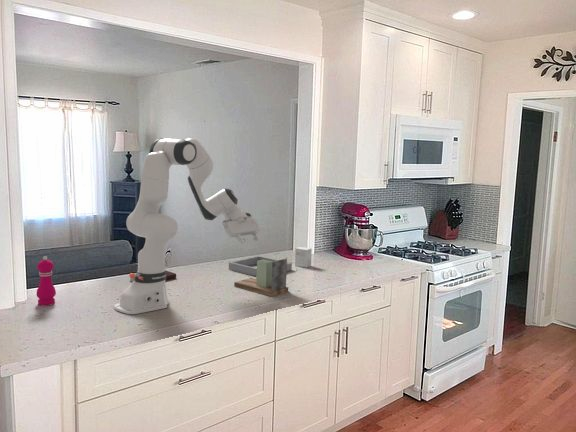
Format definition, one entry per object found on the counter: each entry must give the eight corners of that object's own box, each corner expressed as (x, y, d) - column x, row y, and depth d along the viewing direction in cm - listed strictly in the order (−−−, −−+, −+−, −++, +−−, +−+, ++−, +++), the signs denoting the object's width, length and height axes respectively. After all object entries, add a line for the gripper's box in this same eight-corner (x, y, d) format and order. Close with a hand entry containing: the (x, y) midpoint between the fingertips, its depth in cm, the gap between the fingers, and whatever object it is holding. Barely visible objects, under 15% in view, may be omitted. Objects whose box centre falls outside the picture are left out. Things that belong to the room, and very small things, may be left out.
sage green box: (265, 287, 235) (266, 262, 234) (256, 285, 239) (256, 260, 237) (271, 285, 239) (272, 261, 237) (262, 283, 242) (263, 259, 241)
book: (176, 279, 253) (176, 272, 253) (146, 287, 237) (146, 280, 237) (159, 275, 260) (159, 268, 260) (129, 282, 244) (129, 275, 244)
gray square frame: (262, 278, 260) (262, 270, 259) (228, 269, 275) (228, 262, 275) (291, 269, 280) (292, 262, 279) (258, 262, 295) (258, 255, 294)
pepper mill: (43, 307, 202) (42, 259, 199) (33, 303, 206) (31, 256, 203) (59, 303, 208) (58, 256, 205) (49, 299, 212) (48, 253, 209)
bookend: (272, 296, 228) (273, 262, 226) (234, 286, 243) (235, 254, 241) (288, 291, 238) (289, 258, 236) (250, 281, 252) (251, 250, 250)
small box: (311, 266, 290) (312, 248, 289) (306, 267, 286) (307, 249, 284) (299, 264, 295) (300, 246, 293) (294, 265, 290) (295, 247, 289)
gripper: (224, 216, 237) (238, 239, 232) (253, 213, 253) (267, 235, 248) (217, 224, 240) (231, 247, 235) (246, 221, 256) (260, 242, 251)
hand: (250, 241), depth 242 cm, fingers open, 8 cm apart
